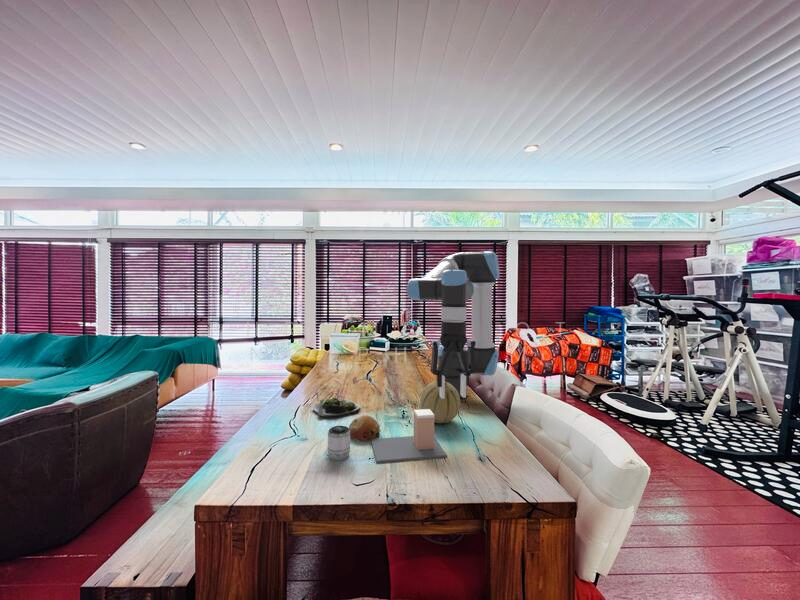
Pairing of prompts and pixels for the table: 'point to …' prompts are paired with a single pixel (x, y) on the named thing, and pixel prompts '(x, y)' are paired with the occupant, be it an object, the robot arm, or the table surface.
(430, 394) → the cantaloupe
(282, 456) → the table surface
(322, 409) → the salad plate
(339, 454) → the camera lens
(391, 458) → the mat
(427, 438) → the block
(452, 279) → the robot arm
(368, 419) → the bread roll
